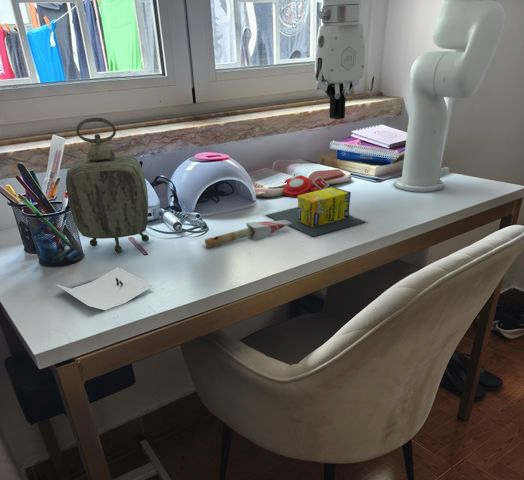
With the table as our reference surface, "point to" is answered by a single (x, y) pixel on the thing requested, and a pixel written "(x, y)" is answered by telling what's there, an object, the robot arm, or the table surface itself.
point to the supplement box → (323, 206)
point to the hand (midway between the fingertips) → (336, 118)
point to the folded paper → (109, 289)
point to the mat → (292, 217)
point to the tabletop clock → (107, 192)
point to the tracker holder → (303, 185)
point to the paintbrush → (248, 232)
